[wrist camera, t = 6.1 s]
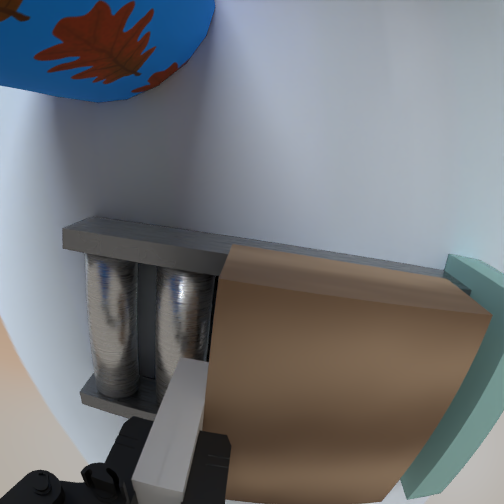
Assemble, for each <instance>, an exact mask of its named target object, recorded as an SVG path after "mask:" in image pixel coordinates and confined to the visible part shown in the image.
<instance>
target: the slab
mask: <svg viewBox="0 0 504 504" xmlns="http://www.w3.org/2000/svg"><path fill="white" fill-rule="evenodd" d="M492 316H493V315H492V314H491V313H490V312H488V311H487V310H486V309H485V308H484V307H482V306H481V305H480V304H479V303H477V302H476V301H475V300H474V299H472V298H471V297H470V296H468V295H467V294H466V293H465V292H463V291H462V290H461V289H459V288H458V287H457V286H456V285H454V284H453V283H452V282H450V281H449V280H448V279H445V278H439V277H433V276H427V275H421V274H415V273H409V272H403V271H397V270H391V269H385V268H379V267H373V266H367V265H360V264H354V263H348V262H342V261H336V260H330V259H324V258H317V257H311V256H305V255H299V254H293V253H286V252H280V251H274V250H268V249H262V248H255V247H249V246H243V245H236V244H232V247H231V249H230V252H229V254H228V256H227V259H226V261H225V264H224V266H223V269H222V271H221V274H220V276H219V279H218V287H217V295H216V304H215V312H214V320H213V329H212V338H211V347H210V356H209V365H208V374H207V384H206V394H205V406H204V416H203V427H202V431H206V432H212V433H218V434H224V435H227V436H228V439H229V441H230V444H231V454H230V463H229V471H228V479H227V487H226V495H225V499H227V500H235V501H243V502H253V503H264V504H362V503H373V502H381V501H382V500H383V499H384V498H385V497H386V495H387V494H388V493H389V492H390V491H391V489H392V488H393V487H394V486H395V485H396V483H397V482H398V481H399V480H400V478H401V477H402V476H403V474H404V473H405V472H406V470H407V469H408V468H409V466H410V465H411V464H412V462H413V461H414V460H415V458H416V457H417V455H418V454H419V453H420V451H421V450H422V448H423V447H424V445H425V444H426V442H427V441H428V439H429V438H430V436H431V435H432V433H433V432H434V430H435V429H436V427H437V426H438V424H439V422H440V421H441V419H442V418H443V416H444V414H445V413H446V411H447V409H448V407H449V406H450V404H451V402H452V400H453V399H454V397H455V395H456V393H457V391H458V390H459V388H460V386H461V384H462V382H463V380H464V378H465V376H466V374H467V372H468V370H469V368H470V366H471V364H472V362H473V360H474V358H475V356H476V354H477V352H478V349H479V347H480V345H481V343H482V340H483V338H484V336H485V333H486V331H487V329H488V326H489V324H490V321H491V319H492Z"/></svg>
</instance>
